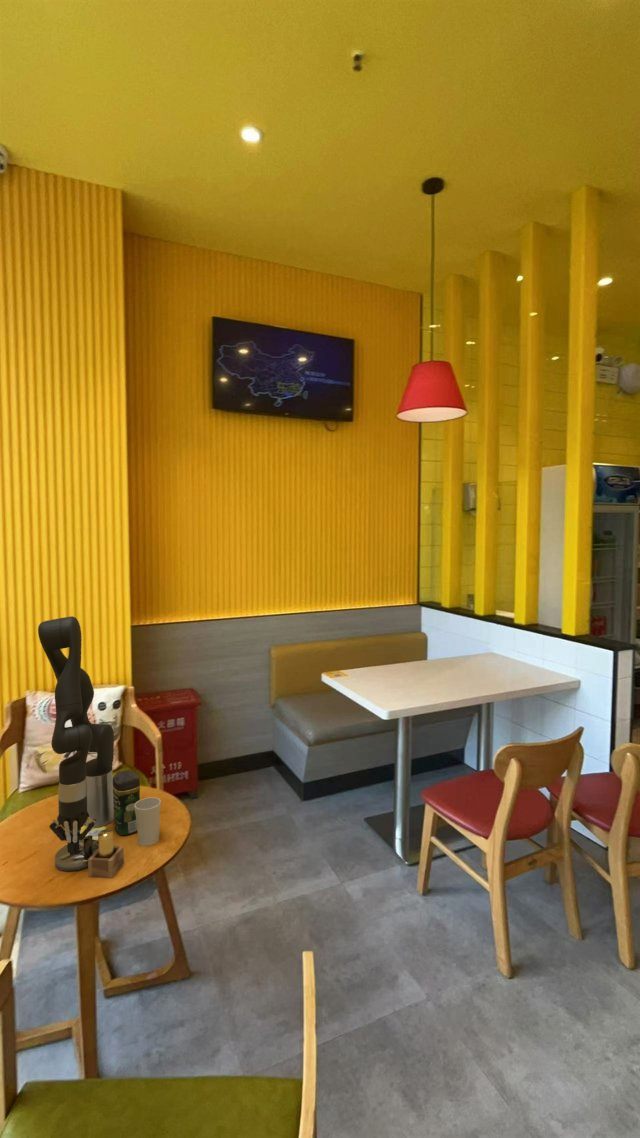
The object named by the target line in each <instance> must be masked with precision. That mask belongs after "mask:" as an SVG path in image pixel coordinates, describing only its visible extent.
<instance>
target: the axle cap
mask: <svg viewBox="0 0 640 1138" xmlns="http://www.w3.org/2000/svg"><path fill="white" fill-rule="evenodd" d="M83 849H84V839H83V840H79V850H78V851H81V850H83Z"/></svg>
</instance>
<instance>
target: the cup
mask: <svg viewBox="0 0 640 1138" xmlns="http://www.w3.org/2000/svg"><path fill="white" fill-rule="evenodd" d="M161 802H162V800H161V799H160V798H158V797H154V796H153V797H151V796H150V797H145V798H142V799H141V798H140V800H139V801H137V802H136V803H135V805H134V807H135V815H136V822H137V831H136V832H137V837H138V838H137V842H138V844H139V845H141V846H143V847H148V846H152V845H155V844H156V843H158V842H159V840H160V826H161V825H160V821H161V806H162V803H161Z"/></svg>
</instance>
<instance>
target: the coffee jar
mask: <svg viewBox="0 0 640 1138" xmlns="http://www.w3.org/2000/svg"><path fill="white" fill-rule="evenodd" d="M140 789H141V782H140V777H139V775H138V774H137V773H136V772H135V771H133V770H130V769H125V770H121V771H118V772H116V773H115V774H114V776H113V805H114V819H113V826H114V830H115V831H116V832H117V834H118V835H120V836H127V835H128V836H129V835H131V834H134V833H136V832H138V831H137V822H136V815H135V807H134V805H135V803H136V802H137V801H139V800H141V798H140V797H141V791H140Z"/></svg>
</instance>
